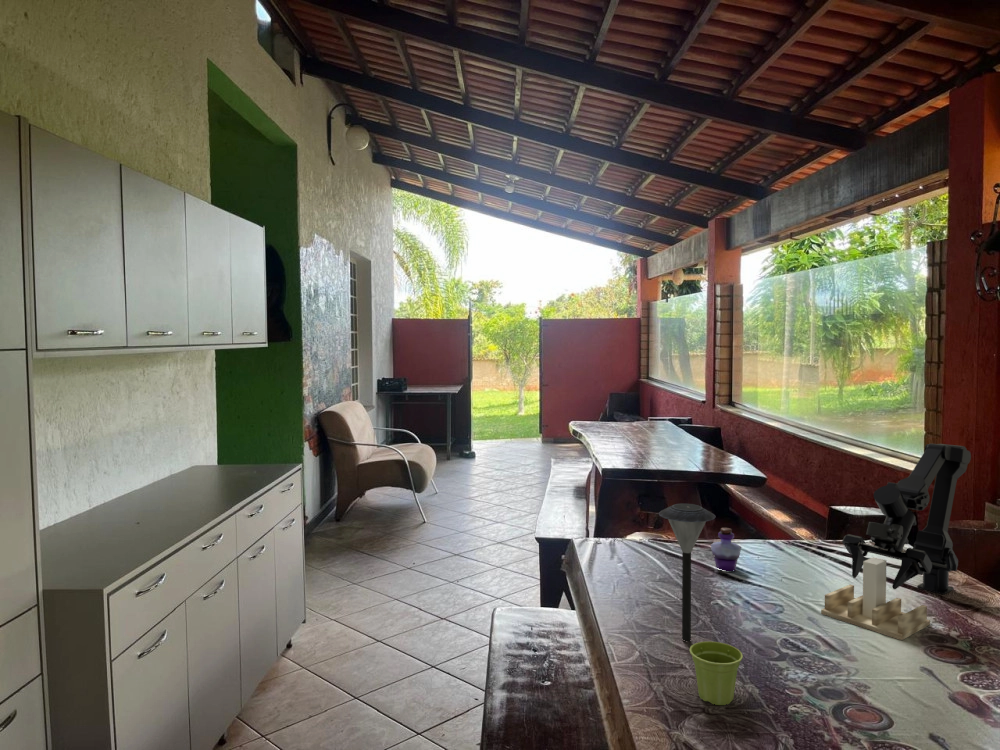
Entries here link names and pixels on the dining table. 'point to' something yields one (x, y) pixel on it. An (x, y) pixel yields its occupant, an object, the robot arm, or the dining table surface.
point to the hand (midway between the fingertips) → (873, 582)
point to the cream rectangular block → (873, 585)
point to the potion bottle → (726, 551)
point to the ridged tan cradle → (875, 614)
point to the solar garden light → (686, 548)
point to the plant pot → (716, 670)
